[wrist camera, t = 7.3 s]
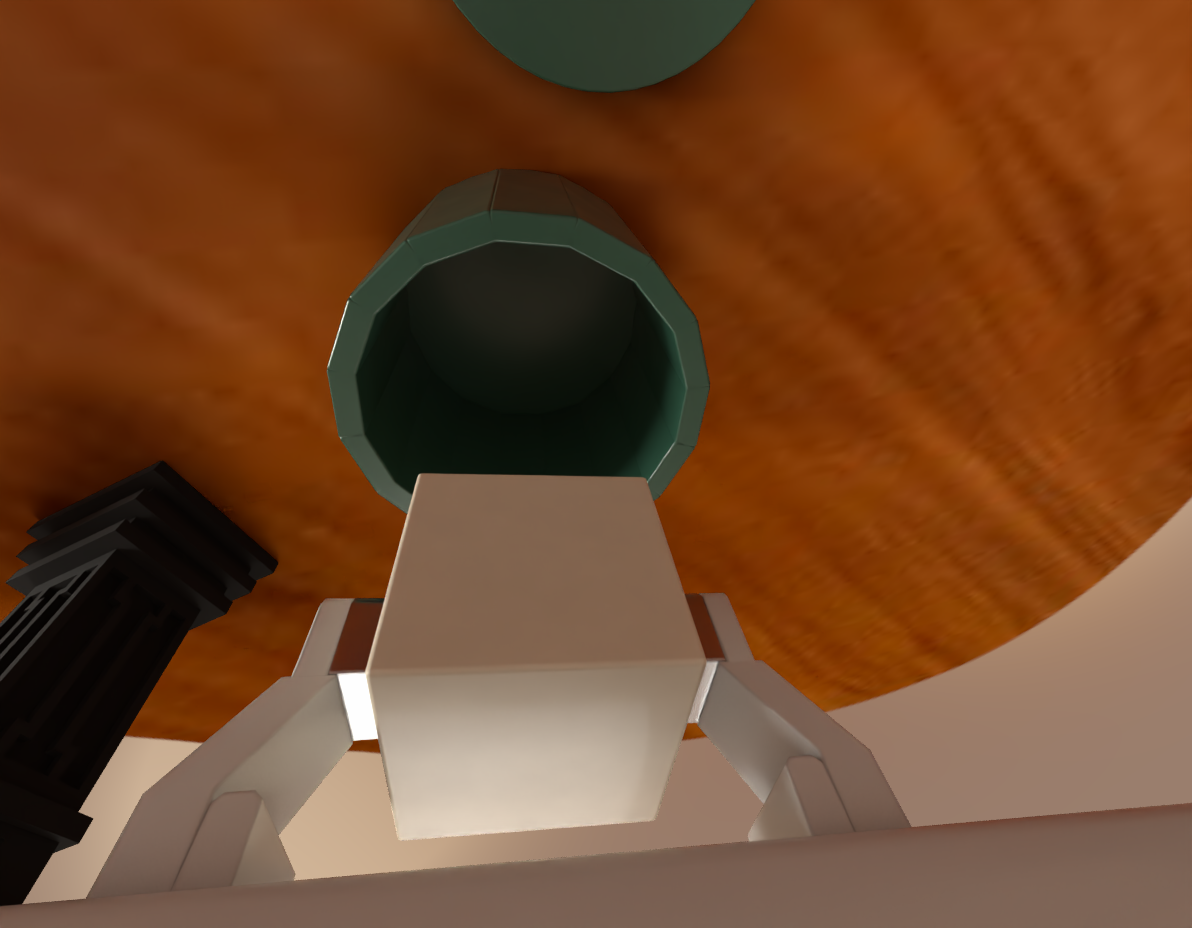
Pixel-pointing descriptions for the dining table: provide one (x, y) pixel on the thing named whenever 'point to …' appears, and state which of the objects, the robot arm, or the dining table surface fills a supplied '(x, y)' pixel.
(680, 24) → the lid
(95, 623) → the chess piece
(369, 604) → the robot arm
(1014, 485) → the dining table surface
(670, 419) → the green hollow cylinder
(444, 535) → the block
